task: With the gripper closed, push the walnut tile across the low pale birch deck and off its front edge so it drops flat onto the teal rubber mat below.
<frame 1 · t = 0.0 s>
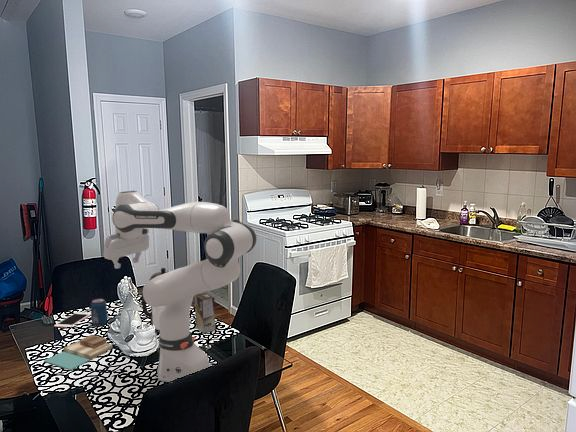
hand: (126, 265, 168), 39 cm above the table, tool pointing down, fingers open, 8 cm apart
cell phone: (74, 321, 212), on the table
mat: (67, 361, 170), on the table
deck: (88, 350, 179), on the table
tile: (93, 343, 181), point 2 cm above the table, touching deck
coffee press: (163, 329, 201), on the table
coffee box: (205, 329, 202), on the table
soda can: (99, 324, 207), on the table
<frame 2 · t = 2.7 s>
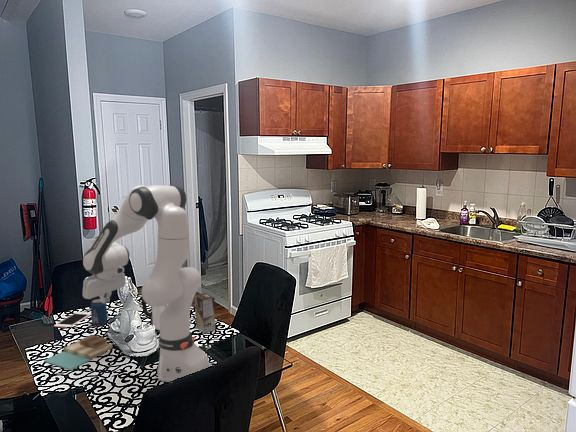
hand: (105, 302, 186), 18 cm above the table, tool pointing down, fingers closed
nothing on the table moved.
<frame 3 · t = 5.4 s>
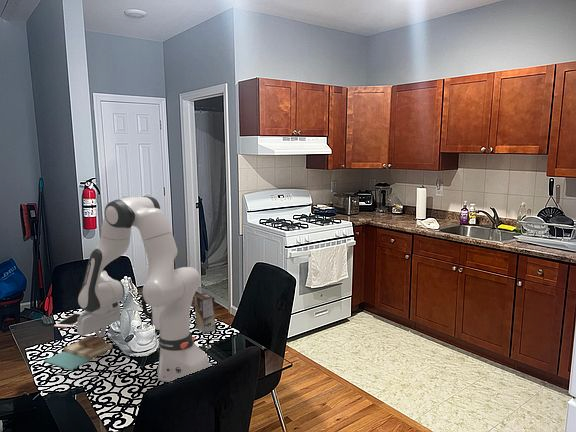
hand: (100, 337, 185), 3 cm above the table, tool pointing down, fingers closed
nothing on the table moved.
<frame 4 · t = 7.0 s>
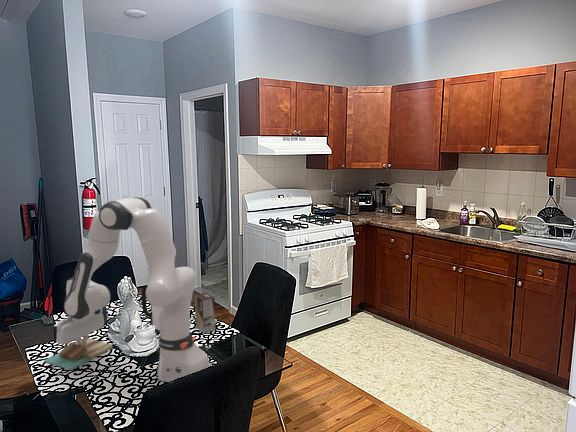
hand: (82, 345, 176), 3 cm above the table, tool pointing down, fingers closed
tile: (74, 353, 173), point 2 cm above the table, tilted 21°, touching gripper
everything else where it was.
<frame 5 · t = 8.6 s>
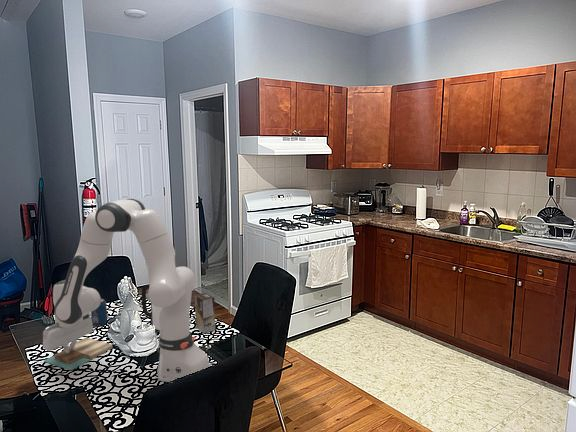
hand: (70, 351, 171), 3 cm above the table, tool pointing down, fingers closed
tile: (68, 358, 171), resting on mat
everything else where it was.
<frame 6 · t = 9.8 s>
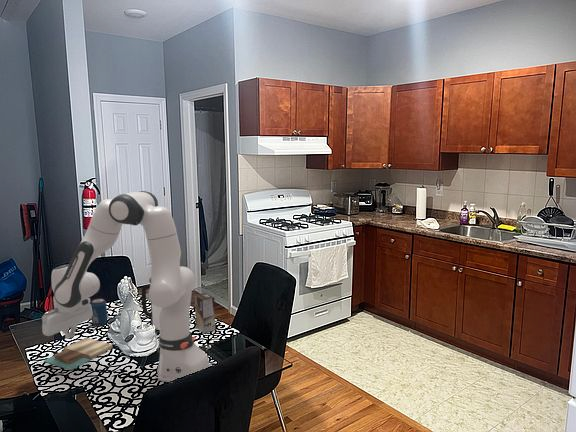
hand: (70, 337, 170), 9 cm above the table, tool pointing down, fingers closed
nothing on the table moved.
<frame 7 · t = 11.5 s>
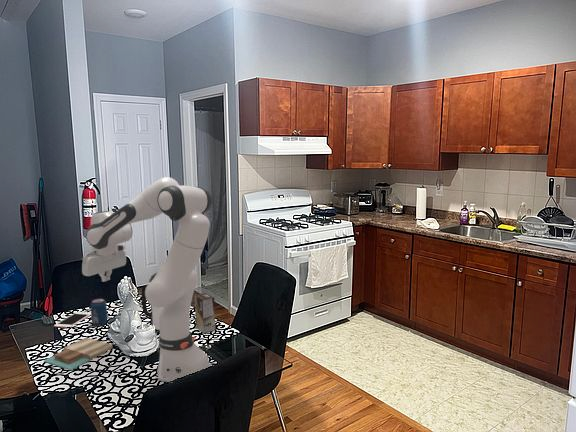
hand: (106, 280, 180), 29 cm above the table, tool pointing down, fingers closed
nothing on the table moved.
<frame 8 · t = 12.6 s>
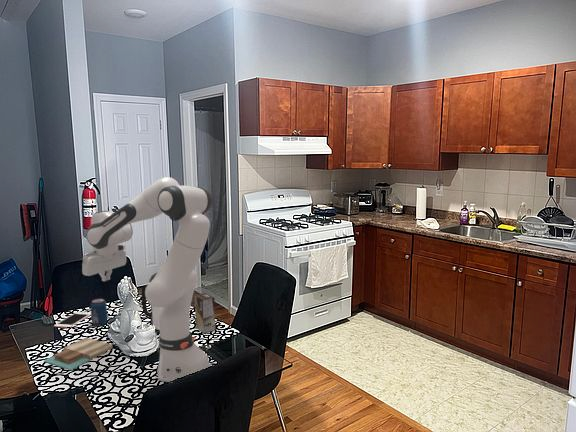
hand: (106, 280, 180), 29 cm above the table, tool pointing down, fingers closed
nothing on the table moved.
at the end: tile point 0.5 cm above the table; tile inside the target area (1.5 cm from its centre), point 0.5 cm above the table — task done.
